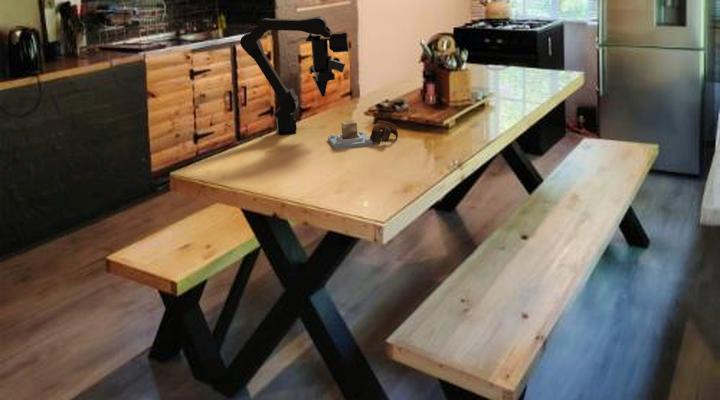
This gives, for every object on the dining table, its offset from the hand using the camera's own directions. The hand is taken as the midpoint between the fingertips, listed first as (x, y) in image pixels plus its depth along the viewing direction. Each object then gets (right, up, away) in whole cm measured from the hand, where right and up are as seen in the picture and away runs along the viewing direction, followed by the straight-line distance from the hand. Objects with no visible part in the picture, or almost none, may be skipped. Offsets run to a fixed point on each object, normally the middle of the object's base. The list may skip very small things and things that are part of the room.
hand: (323, 96), depth 274 cm
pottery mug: (+22, -18, -13) cm, 31 cm away
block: (+10, -17, -13) cm, 23 cm away
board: (+10, -18, -13) cm, 24 cm away
